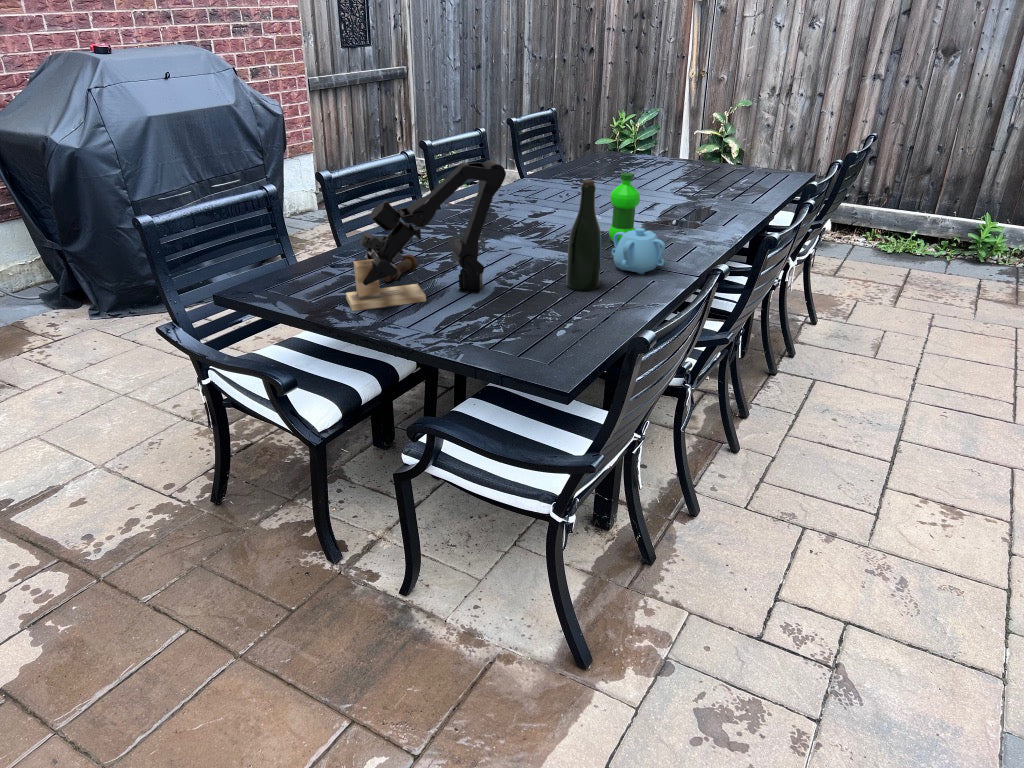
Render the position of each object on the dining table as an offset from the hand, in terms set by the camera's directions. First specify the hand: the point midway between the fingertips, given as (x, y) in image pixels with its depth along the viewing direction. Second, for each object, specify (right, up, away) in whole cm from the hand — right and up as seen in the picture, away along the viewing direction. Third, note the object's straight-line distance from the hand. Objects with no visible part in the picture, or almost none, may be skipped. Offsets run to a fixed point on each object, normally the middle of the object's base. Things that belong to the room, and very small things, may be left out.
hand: (362, 281), depth 217 cm
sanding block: (+1, -4, +3) cm, 5 cm away
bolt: (+7, +5, +24) cm, 25 cm away
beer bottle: (+66, +1, +18) cm, 68 cm away
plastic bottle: (+84, +22, +56) cm, 104 cm away
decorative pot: (+86, +9, +33) cm, 92 cm away
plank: (+6, -5, +5) cm, 9 cm away
